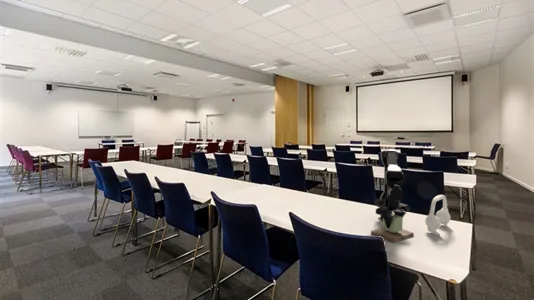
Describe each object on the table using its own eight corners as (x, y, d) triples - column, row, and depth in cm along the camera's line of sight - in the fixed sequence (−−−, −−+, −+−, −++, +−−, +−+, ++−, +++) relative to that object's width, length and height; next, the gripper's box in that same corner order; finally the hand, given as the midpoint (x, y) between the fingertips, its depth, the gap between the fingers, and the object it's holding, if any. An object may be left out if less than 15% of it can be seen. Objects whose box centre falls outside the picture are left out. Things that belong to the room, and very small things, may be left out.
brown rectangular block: (391, 228, 139) (391, 215, 139) (413, 235, 129) (414, 222, 128) (370, 233, 131) (371, 220, 131) (392, 242, 121) (393, 228, 120)
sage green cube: (390, 226, 134) (391, 213, 133) (402, 230, 129) (402, 216, 128) (382, 228, 131) (383, 215, 130) (394, 232, 125) (394, 219, 125)
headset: (437, 223, 147) (438, 191, 146) (452, 226, 141) (454, 193, 140) (423, 231, 134) (424, 197, 133) (439, 236, 129) (440, 200, 127)
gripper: (390, 190, 140) (389, 219, 141) (366, 194, 131) (365, 225, 132) (411, 194, 130) (409, 225, 132) (386, 199, 121) (385, 232, 122)
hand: (392, 226), depth 130 cm, fingers closed on sage green cube, 6 cm apart
